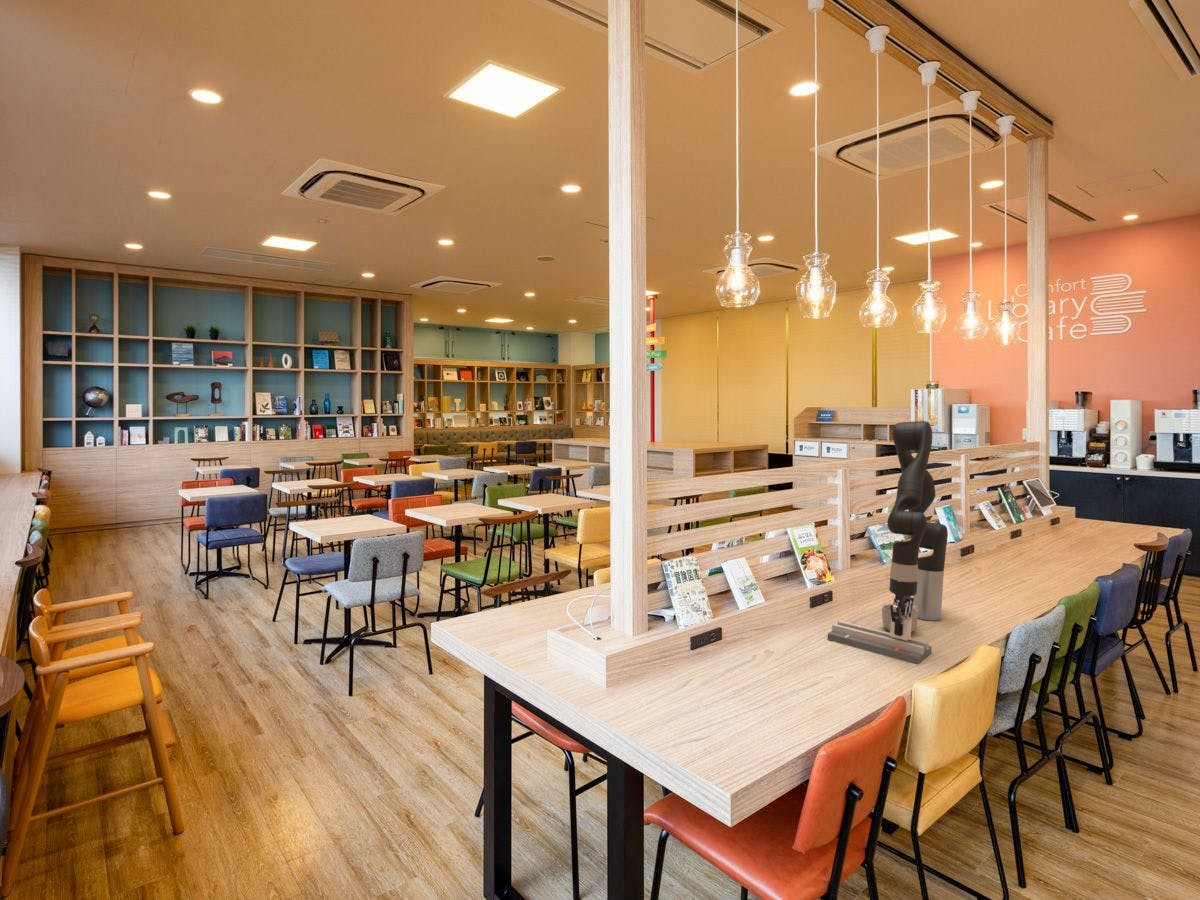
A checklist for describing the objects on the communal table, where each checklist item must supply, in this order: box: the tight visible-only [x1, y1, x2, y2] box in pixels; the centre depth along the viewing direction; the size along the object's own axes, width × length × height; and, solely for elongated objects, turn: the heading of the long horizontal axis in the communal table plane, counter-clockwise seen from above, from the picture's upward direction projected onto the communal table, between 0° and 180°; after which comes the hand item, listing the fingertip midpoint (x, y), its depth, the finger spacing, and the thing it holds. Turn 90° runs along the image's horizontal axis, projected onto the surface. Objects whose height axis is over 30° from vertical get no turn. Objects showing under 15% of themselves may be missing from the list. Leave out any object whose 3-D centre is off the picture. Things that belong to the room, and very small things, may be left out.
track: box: [827, 620, 932, 665], centre depth 207 cm, size 12×27×4 cm, turn 47°
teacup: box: [881, 603, 919, 633], centre depth 221 cm, size 14×11×8 cm
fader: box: [889, 617, 912, 642], centre depth 202 cm, size 3×5×8 cm, turn 47°
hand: (900, 633), depth 202 cm, fingers closed on fader, 3 cm apart
